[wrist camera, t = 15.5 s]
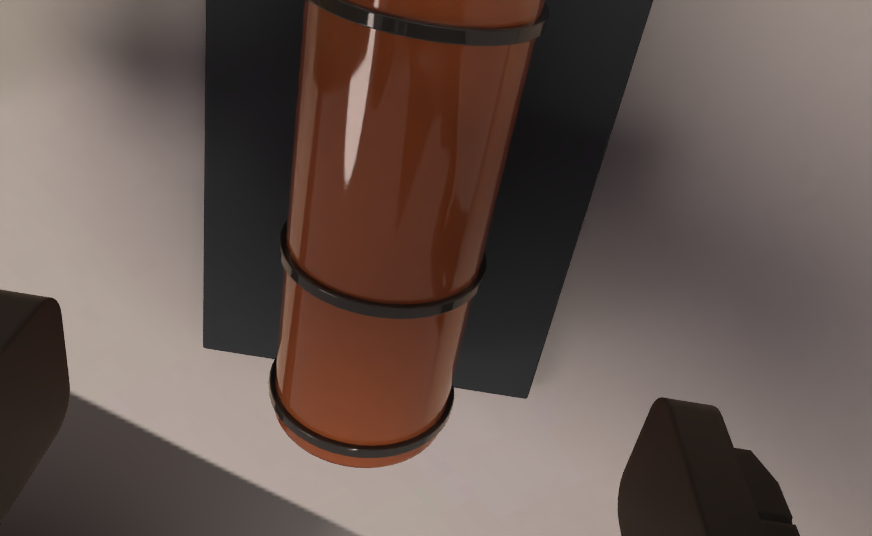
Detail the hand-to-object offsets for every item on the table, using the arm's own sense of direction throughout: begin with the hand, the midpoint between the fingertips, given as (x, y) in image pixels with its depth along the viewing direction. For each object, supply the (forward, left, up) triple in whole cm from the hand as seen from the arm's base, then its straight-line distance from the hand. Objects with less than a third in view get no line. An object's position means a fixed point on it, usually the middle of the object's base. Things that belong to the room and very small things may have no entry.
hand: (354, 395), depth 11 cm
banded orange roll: (0, 0, -10) cm, 10 cm away
